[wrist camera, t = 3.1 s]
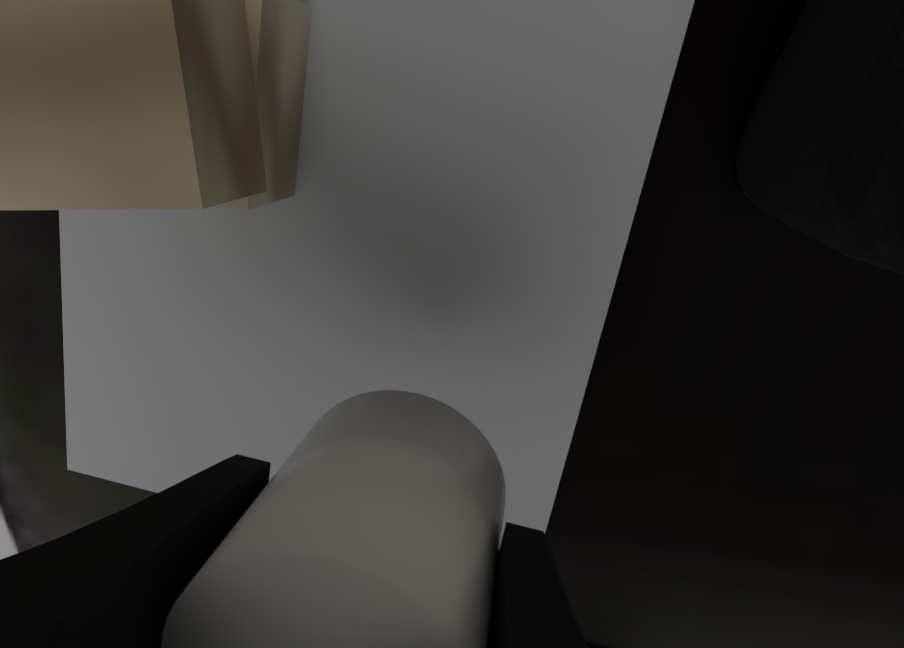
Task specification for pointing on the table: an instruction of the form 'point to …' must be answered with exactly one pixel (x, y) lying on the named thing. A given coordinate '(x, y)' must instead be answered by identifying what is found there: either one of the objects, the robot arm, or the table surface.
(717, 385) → the table surface
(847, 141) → the camera
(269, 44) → the slab bottom
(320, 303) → the mat
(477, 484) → the cylinder
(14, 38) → the slab top
